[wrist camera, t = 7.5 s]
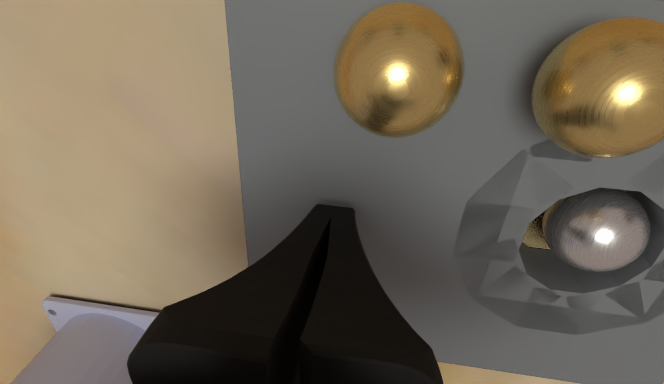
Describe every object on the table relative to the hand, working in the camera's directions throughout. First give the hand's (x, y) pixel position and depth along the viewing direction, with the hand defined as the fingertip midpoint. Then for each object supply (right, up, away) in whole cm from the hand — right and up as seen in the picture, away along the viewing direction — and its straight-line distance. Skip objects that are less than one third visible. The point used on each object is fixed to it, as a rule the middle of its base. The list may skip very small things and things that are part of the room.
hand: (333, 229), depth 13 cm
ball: (+9, 0, +1) cm, 9 cm away
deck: (+6, +1, +2) cm, 6 cm away
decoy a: (+2, +4, -4) cm, 6 cm away
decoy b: (+6, +4, -4) cm, 9 cm away
